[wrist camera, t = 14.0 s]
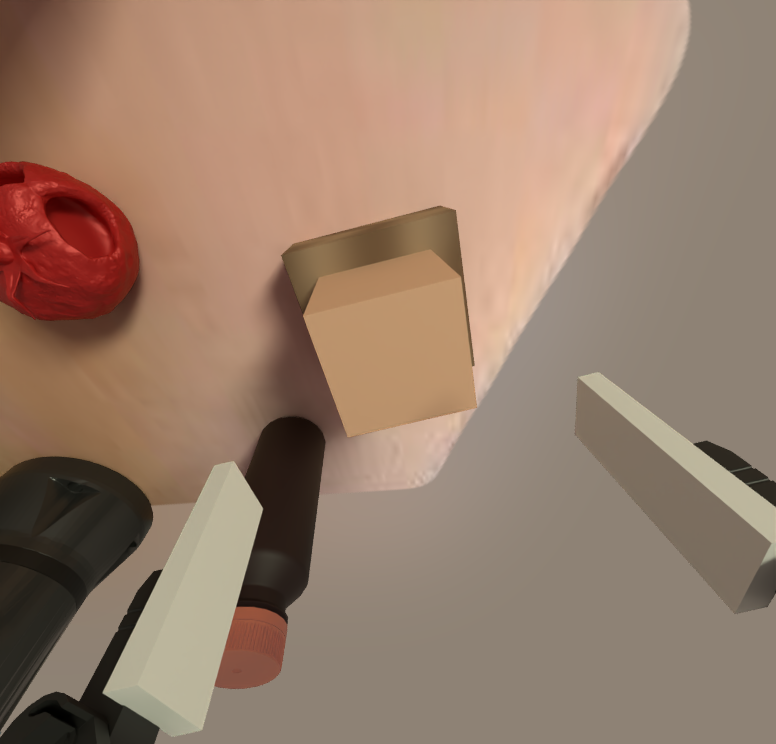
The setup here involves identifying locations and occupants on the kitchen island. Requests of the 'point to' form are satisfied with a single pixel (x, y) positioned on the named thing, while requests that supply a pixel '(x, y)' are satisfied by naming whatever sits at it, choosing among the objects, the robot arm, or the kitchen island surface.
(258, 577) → the bottle
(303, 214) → the kitchen island surface
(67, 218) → the pomegranate
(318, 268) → the walnut block
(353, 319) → the tan cube
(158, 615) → the robot arm
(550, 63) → the kitchen island surface
